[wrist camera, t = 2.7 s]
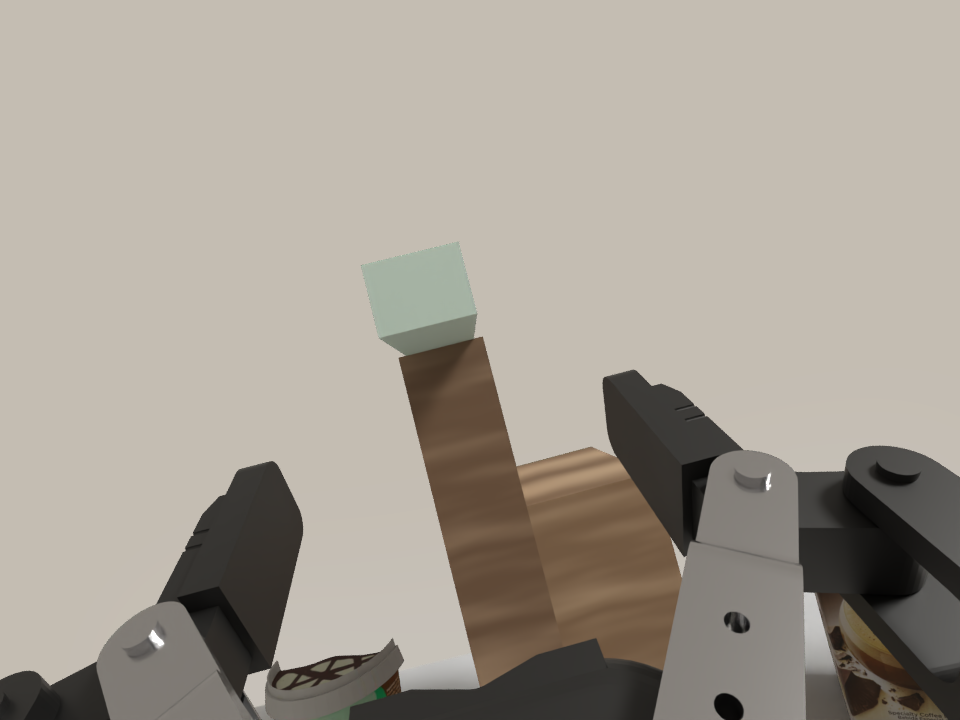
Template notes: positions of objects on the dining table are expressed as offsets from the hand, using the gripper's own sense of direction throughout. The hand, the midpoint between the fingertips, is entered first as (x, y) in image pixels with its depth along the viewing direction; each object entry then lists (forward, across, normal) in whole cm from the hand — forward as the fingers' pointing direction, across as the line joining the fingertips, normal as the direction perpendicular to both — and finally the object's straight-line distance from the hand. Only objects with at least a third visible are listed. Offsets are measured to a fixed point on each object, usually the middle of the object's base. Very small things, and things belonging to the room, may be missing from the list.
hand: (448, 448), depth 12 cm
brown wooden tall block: (+7, -4, +36) cm, 37 cm away
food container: (+13, +17, +40) cm, 45 cm away
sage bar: (+19, 0, +6) cm, 20 cm away
